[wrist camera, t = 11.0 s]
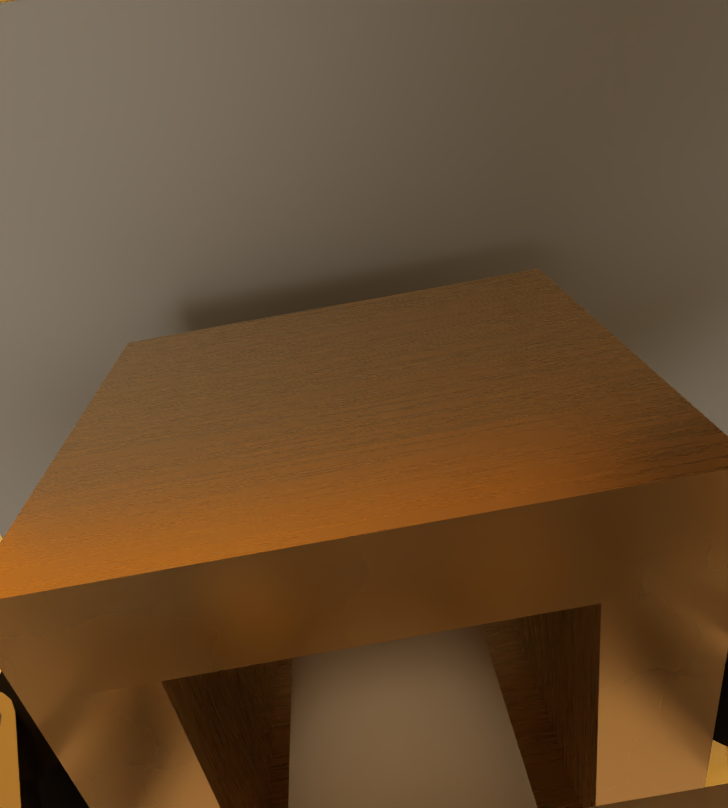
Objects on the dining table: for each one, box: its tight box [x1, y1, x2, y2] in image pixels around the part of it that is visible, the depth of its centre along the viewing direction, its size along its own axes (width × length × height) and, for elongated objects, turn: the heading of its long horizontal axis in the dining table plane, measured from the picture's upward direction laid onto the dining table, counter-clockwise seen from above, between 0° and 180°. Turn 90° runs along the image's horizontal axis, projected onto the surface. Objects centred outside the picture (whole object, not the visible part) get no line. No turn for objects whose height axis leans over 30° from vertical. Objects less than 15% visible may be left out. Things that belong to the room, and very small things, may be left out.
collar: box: [0, 269, 728, 808], centre depth 9 cm, size 6×6×6 cm
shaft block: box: [0, 0, 728, 808], centre depth 10 cm, size 16×16×10 cm
